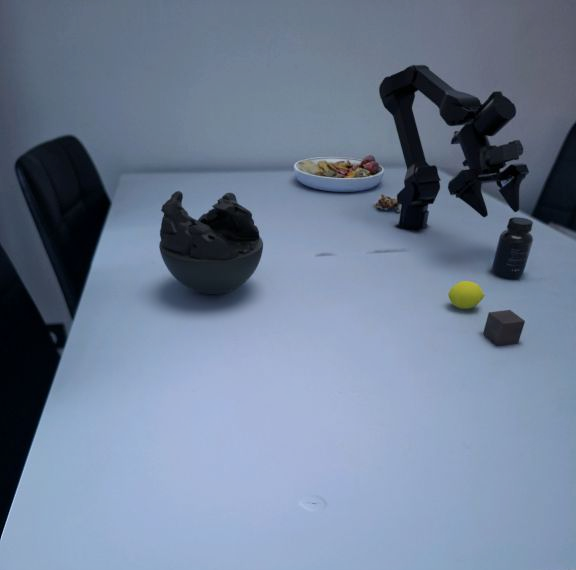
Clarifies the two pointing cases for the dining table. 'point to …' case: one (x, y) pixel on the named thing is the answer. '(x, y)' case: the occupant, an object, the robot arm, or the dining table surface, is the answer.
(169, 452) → the dining table surface
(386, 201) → the brown mottled lump
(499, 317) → the walnut block
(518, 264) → the supplement bottle
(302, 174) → the bowl
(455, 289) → the lemon
